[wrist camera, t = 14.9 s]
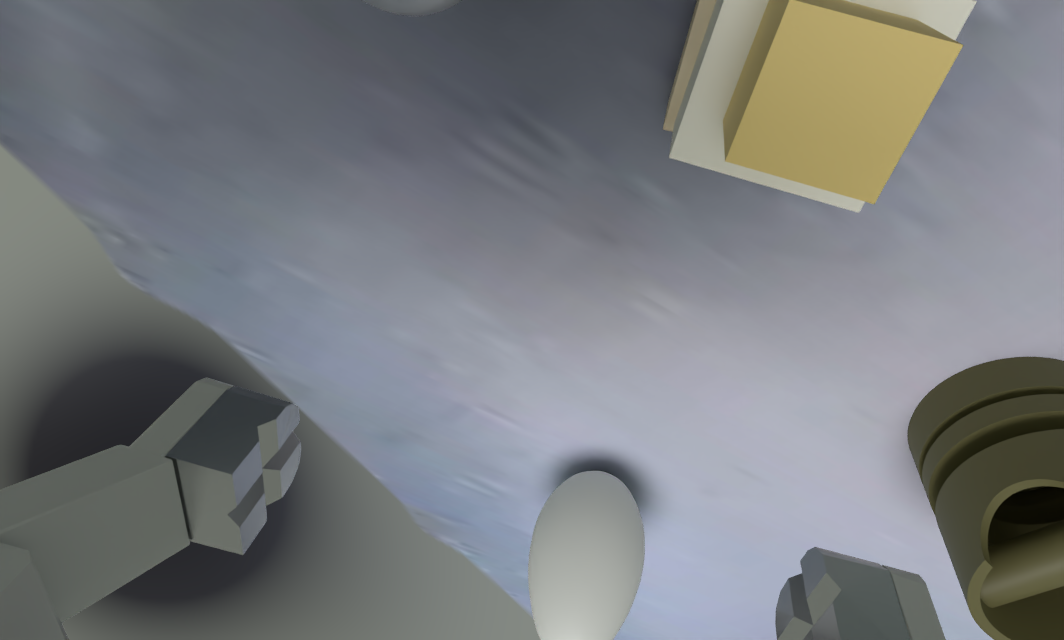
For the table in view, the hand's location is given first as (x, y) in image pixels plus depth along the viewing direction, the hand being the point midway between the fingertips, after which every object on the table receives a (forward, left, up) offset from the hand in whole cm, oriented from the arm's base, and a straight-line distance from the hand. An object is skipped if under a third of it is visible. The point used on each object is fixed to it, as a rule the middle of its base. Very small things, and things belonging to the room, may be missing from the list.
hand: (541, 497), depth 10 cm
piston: (+27, -16, -30) cm, 43 cm away
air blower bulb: (+4, -31, -30) cm, 43 cm away
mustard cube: (+6, +3, -20) cm, 21 cm away
